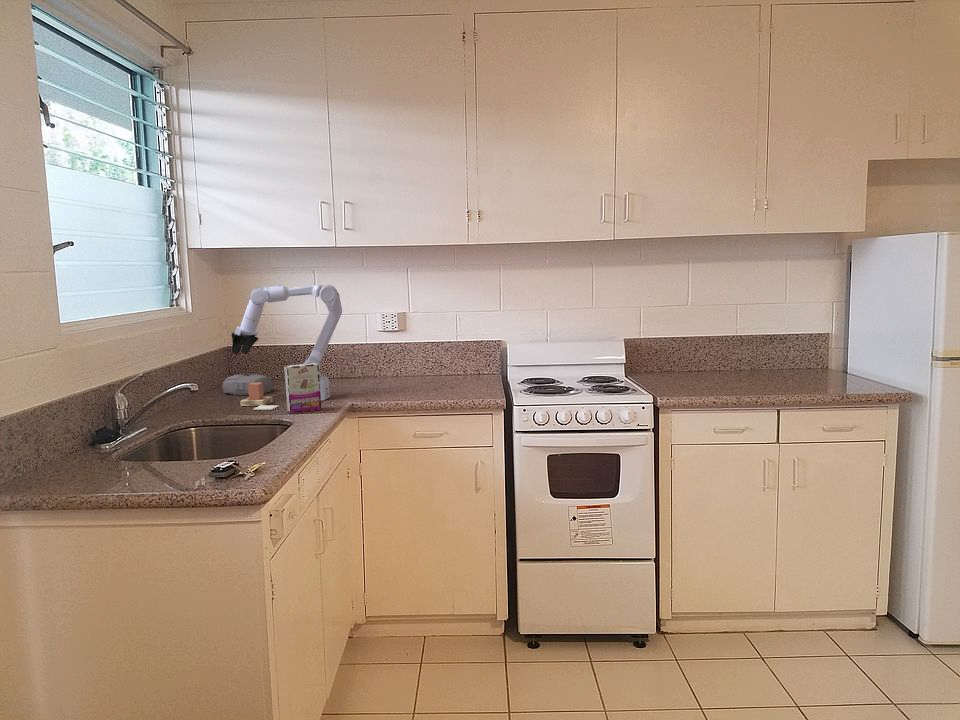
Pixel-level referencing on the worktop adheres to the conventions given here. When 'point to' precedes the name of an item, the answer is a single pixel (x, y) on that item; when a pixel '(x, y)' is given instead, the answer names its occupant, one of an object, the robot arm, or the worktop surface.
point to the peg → (255, 391)
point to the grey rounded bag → (245, 383)
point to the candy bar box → (302, 387)
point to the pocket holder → (256, 402)
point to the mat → (266, 407)
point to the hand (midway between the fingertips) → (239, 353)
